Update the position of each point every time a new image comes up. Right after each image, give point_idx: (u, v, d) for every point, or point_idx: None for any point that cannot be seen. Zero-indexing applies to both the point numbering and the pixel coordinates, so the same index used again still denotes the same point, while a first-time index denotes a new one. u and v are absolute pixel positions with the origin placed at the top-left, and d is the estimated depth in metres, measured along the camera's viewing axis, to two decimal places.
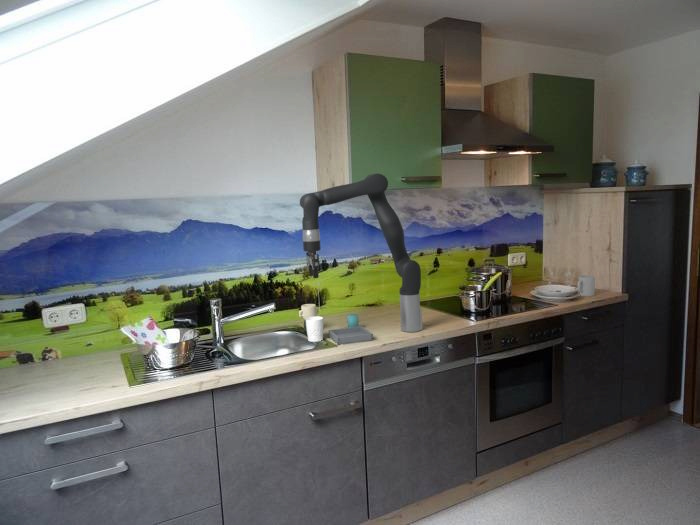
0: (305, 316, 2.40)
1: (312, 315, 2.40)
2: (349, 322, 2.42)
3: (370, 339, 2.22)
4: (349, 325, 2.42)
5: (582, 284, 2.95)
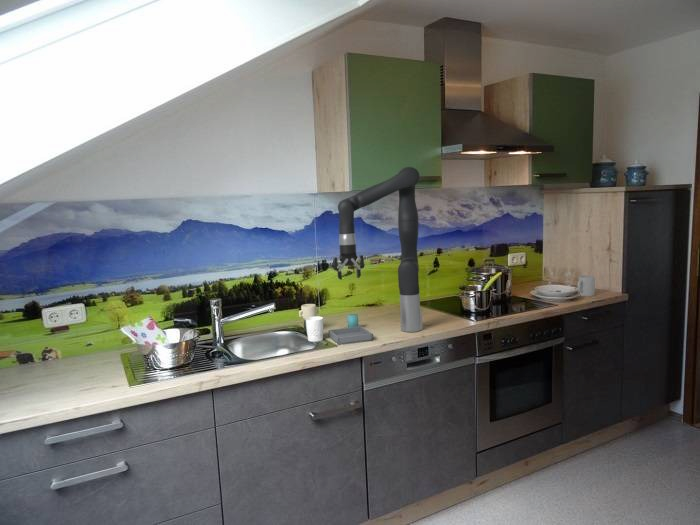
0: (305, 316, 2.40)
1: (312, 315, 2.40)
2: (349, 322, 2.42)
3: (370, 339, 2.22)
4: (349, 325, 2.42)
5: (582, 284, 2.95)
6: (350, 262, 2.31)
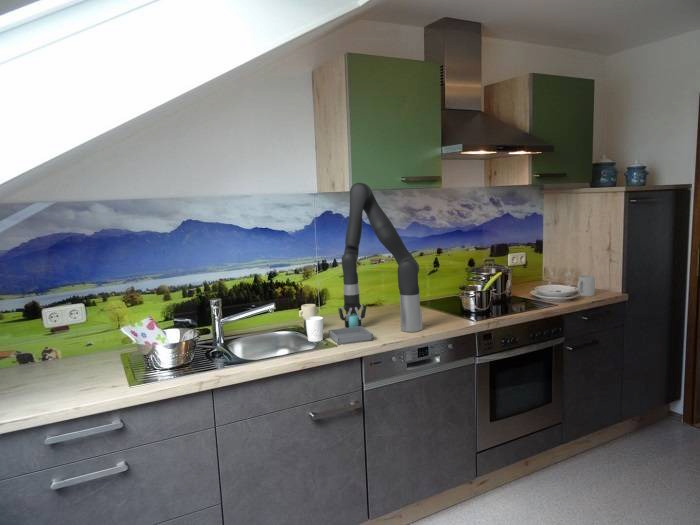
0: (305, 316, 2.40)
1: (312, 315, 2.40)
2: (349, 322, 2.42)
3: (370, 339, 2.22)
4: (349, 325, 2.42)
5: (582, 284, 2.95)
6: (354, 311, 2.42)
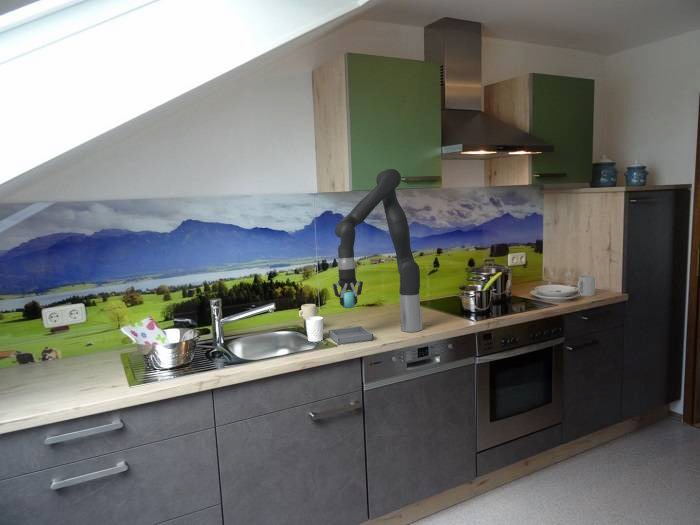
0: (305, 316, 2.40)
1: (312, 315, 2.40)
2: (344, 298, 2.24)
3: (370, 339, 2.22)
4: (344, 302, 2.25)
5: (582, 284, 2.95)
6: (349, 287, 2.25)
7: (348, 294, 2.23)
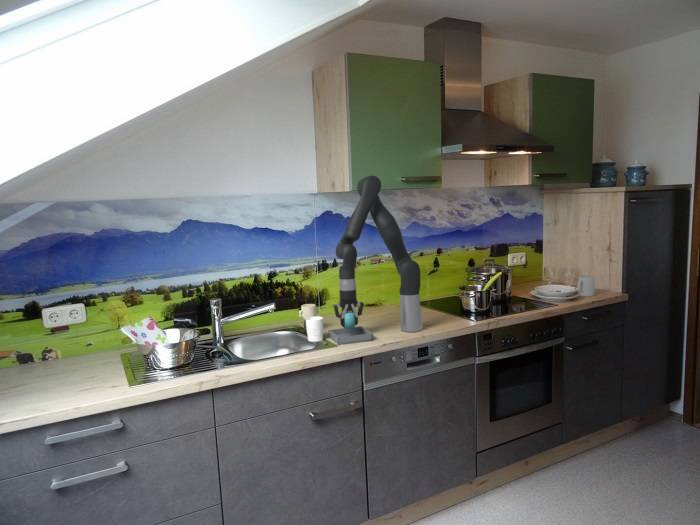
0: (305, 316, 2.40)
1: (312, 315, 2.40)
2: (345, 319, 2.25)
3: (370, 339, 2.22)
4: (345, 323, 2.26)
5: (582, 284, 2.95)
6: (350, 307, 2.26)
7: (349, 315, 2.25)
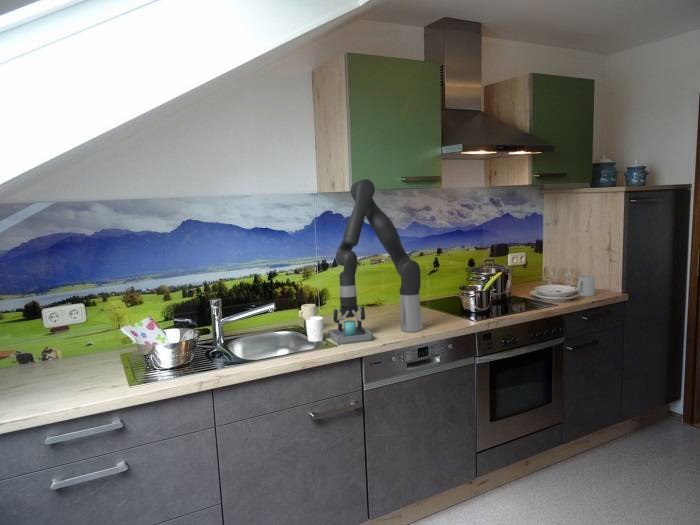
0: (305, 316, 2.40)
1: (312, 315, 2.40)
2: (346, 329, 2.25)
3: (370, 339, 2.22)
4: (346, 332, 2.26)
5: (582, 284, 2.95)
6: (351, 314, 2.26)
7: (350, 324, 2.25)
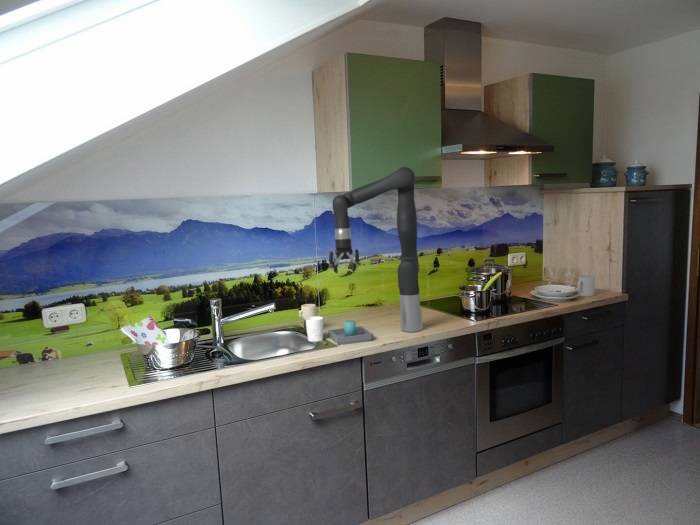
0: (305, 316, 2.40)
1: (312, 315, 2.40)
2: (346, 329, 2.26)
3: (370, 339, 2.22)
4: (346, 332, 2.26)
5: (582, 284, 2.95)
6: (345, 256, 2.37)
7: (350, 324, 2.25)
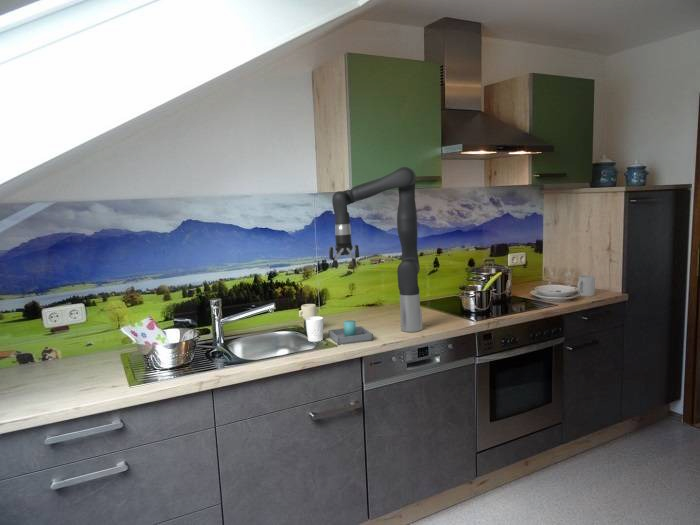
0: (305, 316, 2.40)
1: (312, 315, 2.40)
2: (346, 329, 2.25)
3: (370, 339, 2.22)
4: (346, 332, 2.26)
5: (582, 284, 2.95)
6: (345, 251, 2.40)
7: (350, 324, 2.25)
